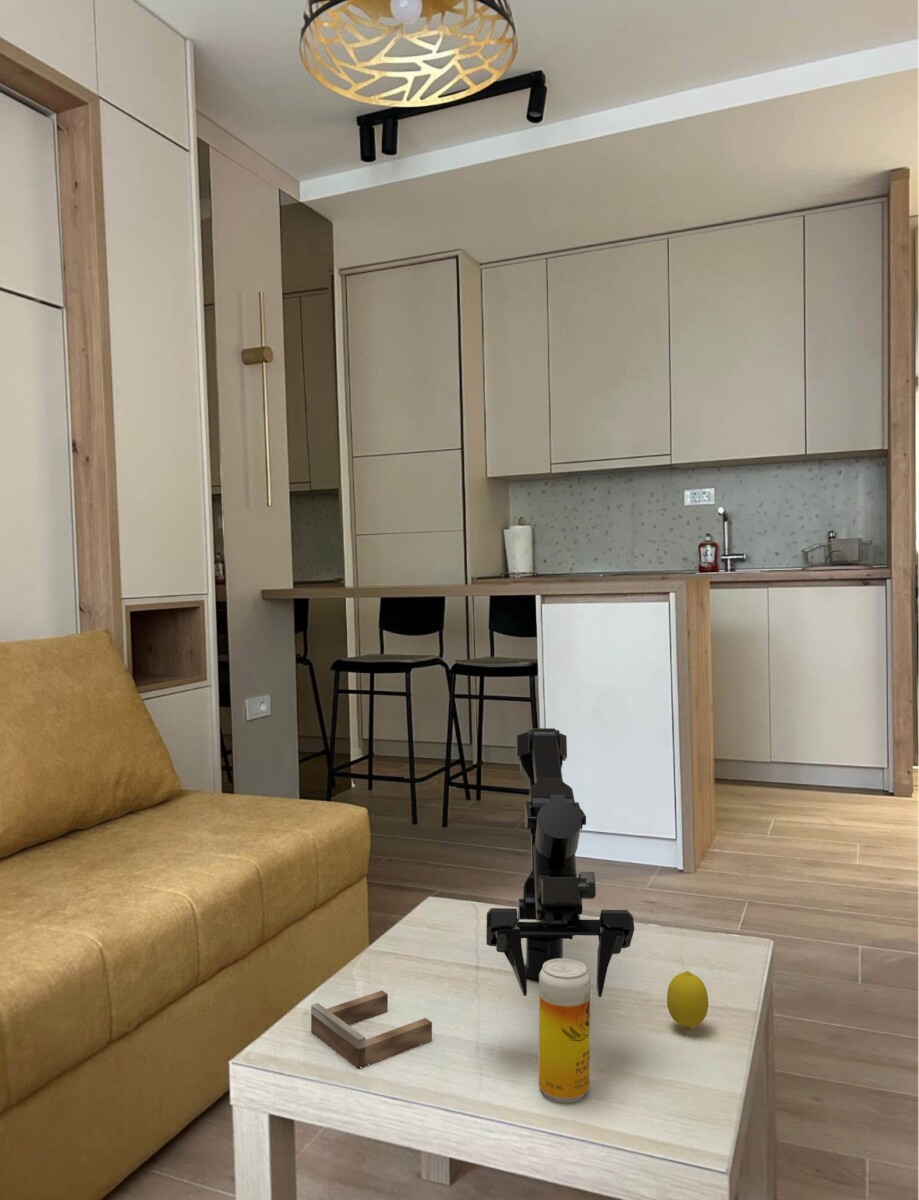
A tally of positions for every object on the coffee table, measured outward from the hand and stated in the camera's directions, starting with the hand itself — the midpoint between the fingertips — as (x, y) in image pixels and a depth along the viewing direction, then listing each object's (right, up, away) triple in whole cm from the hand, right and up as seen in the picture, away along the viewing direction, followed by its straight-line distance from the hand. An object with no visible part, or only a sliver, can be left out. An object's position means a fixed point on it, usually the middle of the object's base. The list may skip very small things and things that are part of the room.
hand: (562, 995), depth 111 cm
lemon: (+19, -11, +13) cm, 25 cm away
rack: (-25, -10, +11) cm, 29 cm away
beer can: (0, -11, -2) cm, 11 cm away
